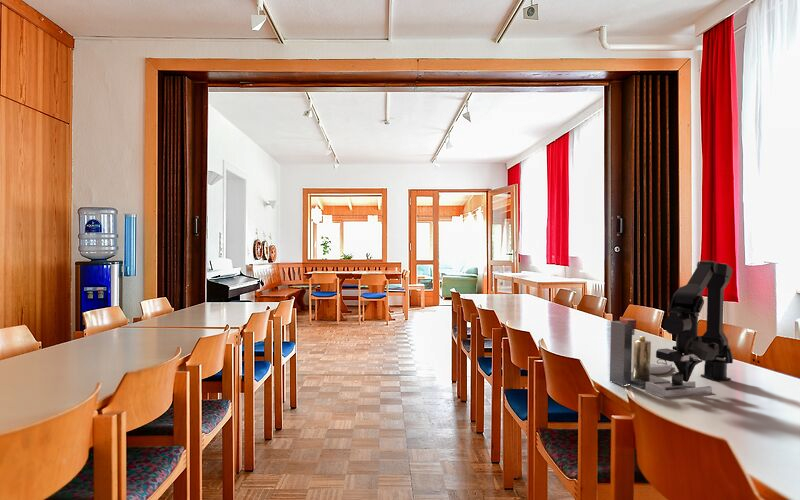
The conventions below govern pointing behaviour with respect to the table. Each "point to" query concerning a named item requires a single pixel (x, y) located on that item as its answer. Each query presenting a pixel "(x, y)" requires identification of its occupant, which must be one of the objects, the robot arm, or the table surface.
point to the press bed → (625, 355)
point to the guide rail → (664, 393)
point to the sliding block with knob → (675, 382)
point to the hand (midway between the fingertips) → (685, 381)
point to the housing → (641, 358)
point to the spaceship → (660, 367)
